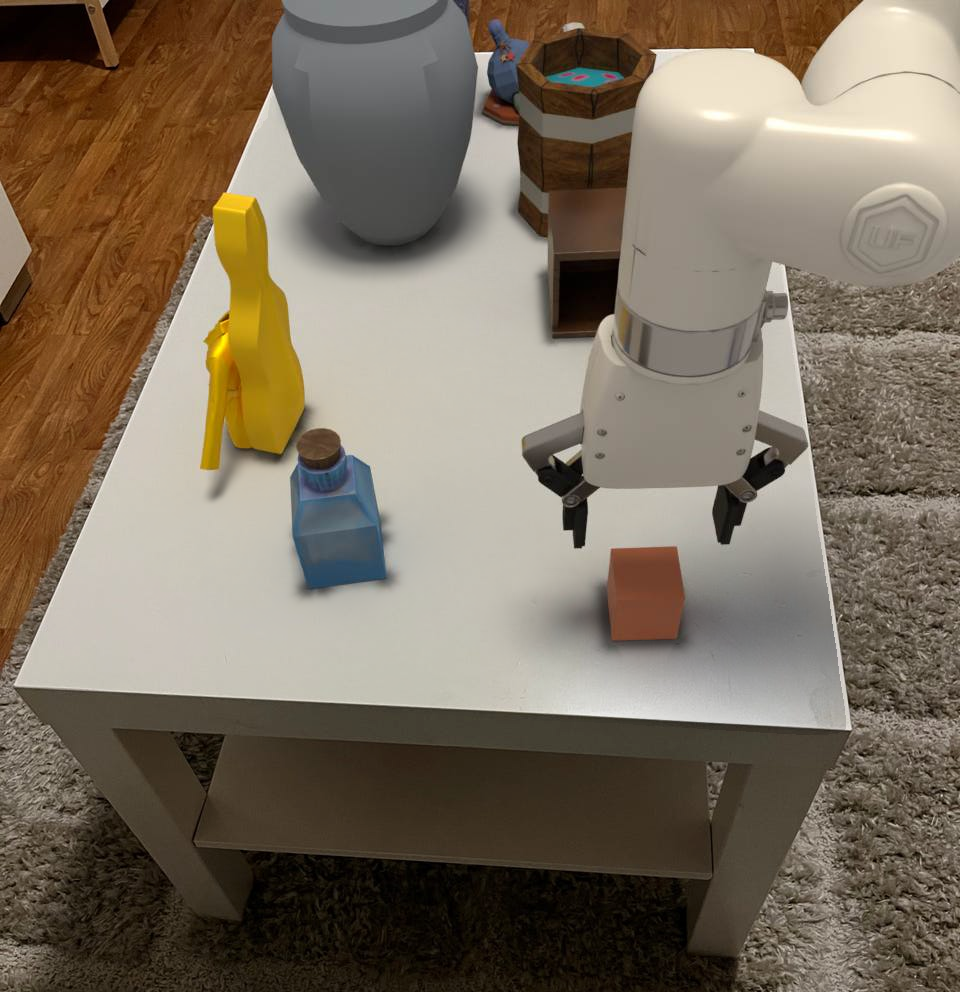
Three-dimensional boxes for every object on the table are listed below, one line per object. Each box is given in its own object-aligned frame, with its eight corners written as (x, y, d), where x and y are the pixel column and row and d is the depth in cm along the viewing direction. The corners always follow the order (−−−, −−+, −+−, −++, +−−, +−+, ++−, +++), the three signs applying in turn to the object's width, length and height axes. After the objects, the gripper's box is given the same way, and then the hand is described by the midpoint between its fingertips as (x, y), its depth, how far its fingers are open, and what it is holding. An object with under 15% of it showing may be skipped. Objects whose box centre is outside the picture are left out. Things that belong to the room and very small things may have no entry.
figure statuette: (266, 362, 92) (202, 129, 74) (344, 372, 91) (298, 138, 73) (192, 496, 83) (97, 265, 65) (278, 509, 81) (206, 278, 63)
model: (476, 122, 116) (472, 39, 109) (493, 85, 121) (491, 3, 114) (575, 130, 114) (578, 45, 107) (588, 91, 119) (592, 8, 112)
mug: (652, 238, 101) (668, 89, 89) (522, 248, 101) (521, 99, 89) (625, 141, 112) (637, -4, 100) (509, 149, 112) (506, 6, 100)
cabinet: (726, 267, 98) (741, 181, 90) (742, 330, 92) (760, 244, 85) (547, 275, 98) (548, 190, 91) (552, 338, 92) (554, 253, 85)
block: (669, 588, 75) (676, 545, 71) (676, 639, 72) (685, 597, 68) (606, 590, 75) (610, 548, 71) (612, 641, 72) (616, 600, 68)
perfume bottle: (380, 520, 80) (359, 408, 70) (386, 578, 76) (365, 468, 67) (305, 530, 80) (273, 419, 70) (308, 589, 76) (275, 480, 66)
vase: (295, 285, 99) (236, 24, 79) (311, 181, 110) (263, -70, 90) (486, 276, 99) (474, 11, 79) (482, 172, 110) (472, -82, 90)
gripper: (833, 269, 54) (767, 487, 68) (520, 279, 54) (519, 493, 68) (865, 358, 49) (787, 570, 63) (525, 368, 50) (523, 577, 64)
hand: (648, 530), depth 66 cm, fingers open, 9 cm apart
